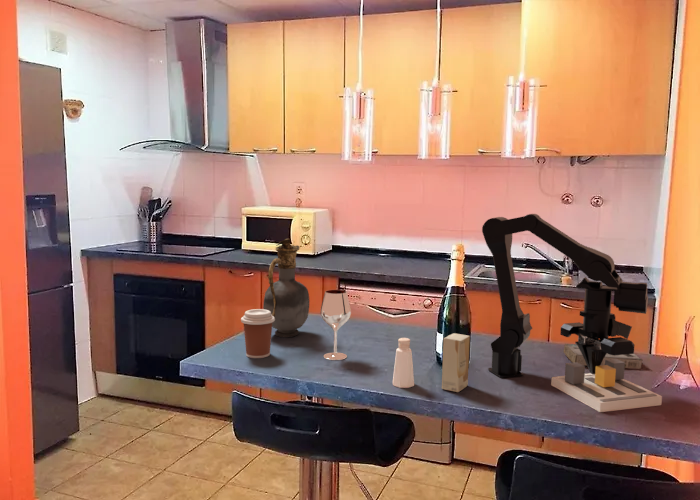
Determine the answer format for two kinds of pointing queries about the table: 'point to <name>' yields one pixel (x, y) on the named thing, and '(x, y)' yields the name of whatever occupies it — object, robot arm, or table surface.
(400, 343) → the pepper shaker
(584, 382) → the panel
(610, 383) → the block
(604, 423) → the table surface
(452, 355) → the skincare box
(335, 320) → the wineglass
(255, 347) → the coffee cup
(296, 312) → the pitcher
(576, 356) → the box
